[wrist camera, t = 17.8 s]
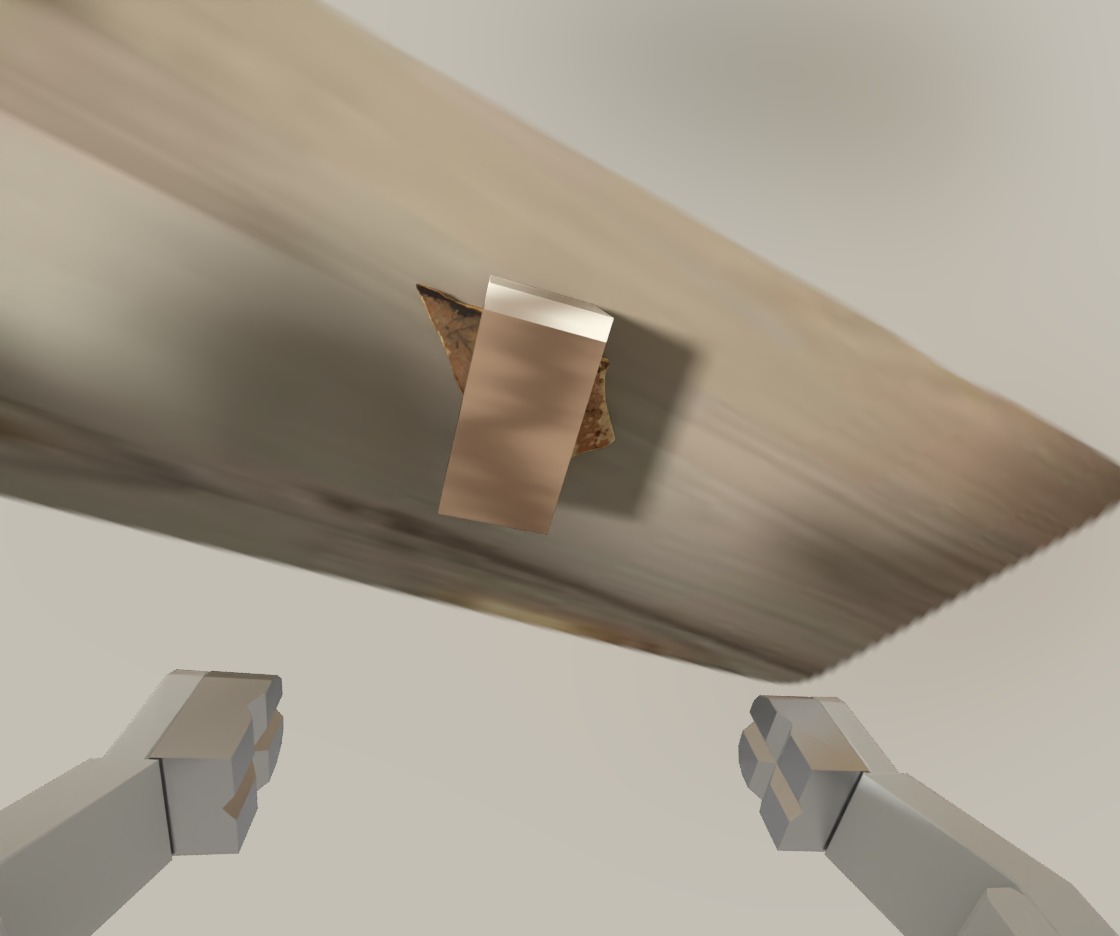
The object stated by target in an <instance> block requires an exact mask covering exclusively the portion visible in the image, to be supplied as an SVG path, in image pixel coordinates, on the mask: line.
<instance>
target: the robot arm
mask: <svg viewBox="0 0 1120 936" xmlns="http://www.w3.org/2000/svg"><path fill="white" fill-rule="evenodd" d="M281 697H282V681H281V678H280V677H279V676H277V675H265V674H249V673H234V672H219V671H211V672H206V671H192V670H179V669H176V670H174V671H173V672H171V673H170V674H168V675H167V676H165V678H164V679H163V680H162V682H161V683H160V684H159V686H158V687H157V688H156V689H155V691H154V692H153V693H152V694H151V696H150V697H149V699H148V700H147V701H146V702H145V704H144V705H143V706H142V707H141V709H140V710H139V711H138V713H137V714H136V715H135V716H134V718H133V719H132V720H131V722H130V723H129V724H128V726H127V727H126V728H125V729H124V731H123V732H122V733H121V735H120V736H119V737H118V739H117V740H116V741H115V742H114V744H113V745H112V746H111V748H110V749H109V750H108V751H107V753H106V754H105V756H104V757H103V758H90V759H88V760H87V761H85V762H83V763H81V764H80V765H78V766H77V767H75V768H73V769H71V770H69V771H68V772H66V773H64V774H63V775H61V776H59V777H58V778H56V779H54V780H52V781H51V782H49V783H47V784H45V785H44V786H42V787H40V788H39V789H37V790H35V791H33V792H32V793H30V794H28V795H27V796H25V797H23V798H21V799H20V800H18V801H16V802H15V803H13V804H11V805H9V806H8V807H6V808H4V809H3V810H1V811H0V936H91V935H92V934H93V933H94V932H95V931H96V930H97V929H98V928H99V927H101V926H102V925H103V924H104V923H105V922H106V921H107V920H108V919H109V918H110V917H111V916H112V915H113V914H114V913H116V912H117V911H118V910H119V909H120V908H121V907H122V906H123V905H124V904H125V903H126V902H127V901H128V900H129V899H131V898H132V897H133V896H134V895H135V894H136V893H137V892H138V891H139V890H140V889H141V888H142V887H143V886H145V885H146V883H148V882H149V881H150V880H151V879H152V878H153V877H154V876H155V875H156V874H157V873H158V872H160V870H162V869H163V868H164V867H165V866H166V865H167V864H168V863H169V862H170V861H171V860H172V856H177V855H178V856H179V855H204V854H205V855H207V854H236V853H239V851H240V849H241V846H242V844H243V842H244V840H245V837H246V835H247V832H248V830H249V827H250V826H251V823H252V821H253V818H254V816H255V814H256V812H257V808H258V807H257V791H258V790H259V789H260V788H261V787H263V786H264V785H265V784H266V783H268V782H269V781H270V778H271V776H272V773H273V771H274V768H275V765H276V763H277V759H278V755H279V752H280V748H281V744H282V736H283V716H282V715H281V714H280V713H279V712H278V711H277V709H276V707H277V705H278V703H279V701H280V699H281ZM750 714H751V716H752V717H753V720H754V722H753V723H752V724H751V725H749V726H748V727H747V728H746V729H745V730H743V732H742V736H741V739H740V742H739V764H740V768H741V772H742V775H743V777H744V780H745V782H746V784H747V786H748V788H749V789H750V790H751V791H752V792H754V793H755V794H756V795H757V796H758V797H759V798H761V799H762V803H761V807H760V814H761V816H762V818H763V820H764V823H765V825H766V827H767V829H768V831H769V833H770V835H771V837H772V839H773V842H774V844H775V846H776V848H777V850H782V851H819V852H826V853H825V855H826V856H827V857H828V858H829V859H830V860H831V861H832V862H833V864H835V866H836V867H837V868H838V869H839V870H840V871H841V872H842V873H844V875H845V876H846V877H847V878H848V879H849V880H850V881H851V882H852V883H853V884H854V885H855V886H856V887H857V888H858V889H859V890H860V891H861V892H862V893H863V894H864V895H865V896H866V897H867V898H868V899H869V900H870V901H871V902H872V903H873V904H874V905H875V906H876V907H877V908H878V909H879V910H880V911H881V912H882V913H883V914H884V915H885V916H886V917H887V918H888V919H889V921H891V923H892V924H893V925H894V926H896V928H897V929H899V931H900V932H902V934H903V935H904V936H1118V935H1117V933H1116V932H1115V931H1114V930H1113V929H1112V928H1111V927H1110V926H1109V925H1108V923H1107V922H1106V921H1105V920H1104V919H1103V918H1102V917H1101V916H1100V915H1099V914H1098V913H1097V912H1096V910H1095V909H1094V908H1093V907H1092V906H1091V905H1090V904H1089V903H1088V901H1087V900H1086V899H1085V898H1084V897H1083V896H1082V895H1081V894H1080V893H1079V891H1078V890H1077V889H1076V888H1075V887H1074V886H1073V885H1072V884H1071V883H1069V882H1068V881H1066V880H1065V879H1063V878H1062V877H1060V876H1059V875H1058V874H1056V873H1055V872H1053V871H1051V870H1050V869H1049V868H1047V867H1045V866H1044V865H1043V864H1041V863H1040V862H1038V861H1037V860H1035V859H1034V858H1032V857H1031V856H1029V855H1028V854H1026V853H1025V852H1023V851H1021V850H1020V849H1019V848H1017V847H1016V846H1014V845H1013V844H1011V843H1010V842H1008V841H1007V840H1005V839H1004V838H1002V837H1001V836H1000V835H998V834H997V833H995V832H994V831H992V830H991V829H989V828H988V827H986V826H984V825H983V824H982V823H980V822H979V821H977V820H976V819H974V818H973V817H971V816H970V815H968V814H967V813H965V812H964V811H962V810H961V809H959V808H958V807H956V806H955V805H953V804H952V803H950V802H949V801H948V800H946V799H944V798H943V797H941V796H940V795H939V794H937V793H936V792H934V791H933V790H931V789H930V788H928V787H927V786H925V785H924V784H922V783H921V782H919V781H918V780H916V779H914V778H913V777H912V776H910V775H909V774H901V773H899V772H898V771H897V769H896V768H895V767H894V765H893V764H892V763H891V762H890V760H889V759H888V758H887V756H886V755H885V754H884V753H883V751H882V750H881V749H880V747H879V746H878V745H877V743H876V742H875V741H874V740H873V738H872V737H871V736H870V735H869V733H868V732H867V731H866V729H865V728H864V727H863V725H862V724H861V723H860V721H859V720H858V719H857V718H856V716H855V715H854V714H853V713H852V711H851V710H850V709H849V707H848V706H847V705H846V704H845V703H844V702H843V701H841V700H840V699H839V698H836V697H795V696H765V695H760V696H758V697H757V698H756V699H755V700H754V702H753V705H752V707H751V710H750Z"/></svg>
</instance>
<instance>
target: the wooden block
mask: <svg viewBox="0 0 1120 936" xmlns="http://www.w3.org/2000/svg"><path fill="white" fill-rule="evenodd" d="M613 319H614V318H613V317H612V316H610V315H609V314H607V313H606V312H604V311H603V310H601V309H600V308H598V307H596V306H595V305H593V304H590V303H587V302H584V301H580V300H577V299H573V298H570V297H566V296H563V295H559V294H556V293H552V292H549V291H545V290H542V289H539V288H535V287H532V286H528V285H525V284H521V283H518V282H514V281H511V280H507V279H504V278H500V277H497V276H494V275H490V280H489V284H488V289H487V293H486V297H485V302H484V306H483V311H482V315H481V320H480V324H479V328H478V333H477V337H476V342H475V346H474V351H473V355H472V360H471V364H470V368H469V373H468V377H467V382H466V386H465V391H464V395H463V399H462V404H461V408H460V413H459V417H458V422H457V426H456V431H455V435H454V439H453V444H452V448H451V453H450V457H449V462H448V466H447V471H446V476H445V480H444V485H443V490H442V495H441V500H440V505H439V510H438V514H443V515H448V516H453V517H458V518H463V519H469V520H474V521H479V522H484V523H489V524H494V525H499V526H504V527H509V528H515V529H520V530H525V531H530V532H535V533H540V534H545V535H547V534H548V530H549V527H550V524H551V521H552V517H553V514H554V511H555V508H556V504H557V501H558V498H559V495H560V491H561V488H562V485H563V482H564V478H565V475H566V472H567V469H568V465H569V462H570V459H571V456H572V452H573V449H574V446H575V443H576V439H577V436H578V433H579V430H580V426H581V423H582V420H583V417H584V413H585V410H586V407H587V404H588V400H589V397H590V394H591V391H592V388H593V384H594V381H595V378H596V375H597V371H598V368H599V365H600V362H601V358H602V355H603V352H604V349H605V345H606V342H607V339H608V336H609V332H610V329H611V326H612V323H613Z"/></svg>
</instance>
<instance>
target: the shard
mask: <svg viewBox="0 0 1120 936" xmlns="http://www.w3.org/2000/svg"><path fill="white" fill-rule="evenodd" d="M416 287H417V289H418V291H419V293H420V296H421V299H422V301H423V303H424V304H425V307H426V309H427V312H428V314H429V317H430V320H431V322H432V324H433V325H434V327H435V329H436V331H437V332H438V334H439V336H440V337H441V341H442V344H443V346H444V348H445V351H446V353H447V355H448V358H449V360H450V363H451V366H452V371H453V374H454V377H455V380H456V382H457V385H458V387H459V389H460V391H461V393H462V395H464V391H465V386H466V382H467V377H468V373H469V368H470V364H471V360H472V355H473V351H474V346H475V342H476V337H477V333H478V328H479V324H480V320H481V315H482V311H483V309H482V308H479V307H477V306H473V305H467V304H462V303H459V302H456V301H455V300H453V299H450V298H447V297H446V296H445V295H443V294H442V293H441V292H440V291H437V290H434V289H432V288H429V287H427V286H424V285H420V284H416ZM608 366H609V360H608V359H607V358H604V357H602V358H601V362H600V365H599V368H598V371H597V375H596V378H595V381H594V384H593V388H592V391H591V394H590V397H589V400H588V404H587V407H586V410H585V413H584V417H583V420H582V423H581V426H580V430H579V433H578V436H577V439H576V443H575V446H574V449H573V452H572V456H571V457H574V456H576V455H579V454H582V453H584V452H587V451H593V450H597V449H600V448H604V447H606V446H609V445H610V444H611V443H612V442H613V441H614V440H615V435H614V432H613V427H612V424H611V422H610V417H609V413H608V409H607V404H606V399H605V374H606V371H607V369H608Z"/></svg>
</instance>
